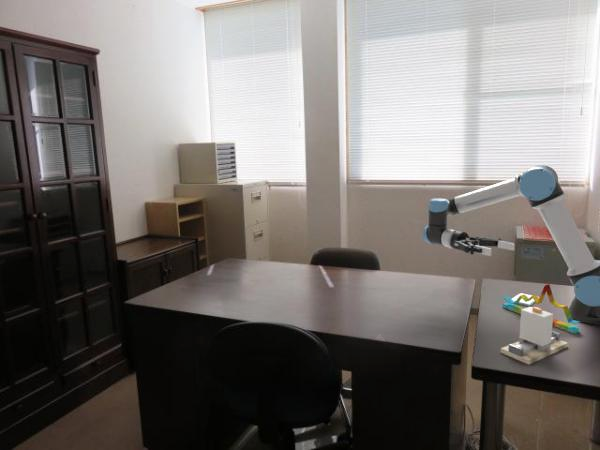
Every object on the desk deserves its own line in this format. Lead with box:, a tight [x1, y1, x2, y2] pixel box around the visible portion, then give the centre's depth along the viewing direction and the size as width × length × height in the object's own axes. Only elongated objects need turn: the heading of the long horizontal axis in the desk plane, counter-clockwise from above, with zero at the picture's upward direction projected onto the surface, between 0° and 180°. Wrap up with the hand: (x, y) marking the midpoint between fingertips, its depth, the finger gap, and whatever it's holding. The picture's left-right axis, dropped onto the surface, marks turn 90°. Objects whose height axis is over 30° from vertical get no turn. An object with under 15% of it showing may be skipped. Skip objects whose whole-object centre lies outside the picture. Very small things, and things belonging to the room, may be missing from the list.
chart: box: [502, 283, 581, 334], centre depth 177 cm, size 30×3×15 cm, turn 27°
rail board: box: [500, 339, 569, 365], centre depth 153 cm, size 22×10×2 cm, turn 121°
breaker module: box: [518, 306, 554, 352], centre depth 151 cm, size 5×8×13 cm, turn 31°
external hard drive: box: [511, 292, 540, 308], centre depth 198 cm, size 2×8×12 cm
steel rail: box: [508, 330, 561, 357], centre depth 152 cm, size 22×4×2 cm, turn 121°
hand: (502, 249), depth 166 cm, fingers open, 13 cm apart
